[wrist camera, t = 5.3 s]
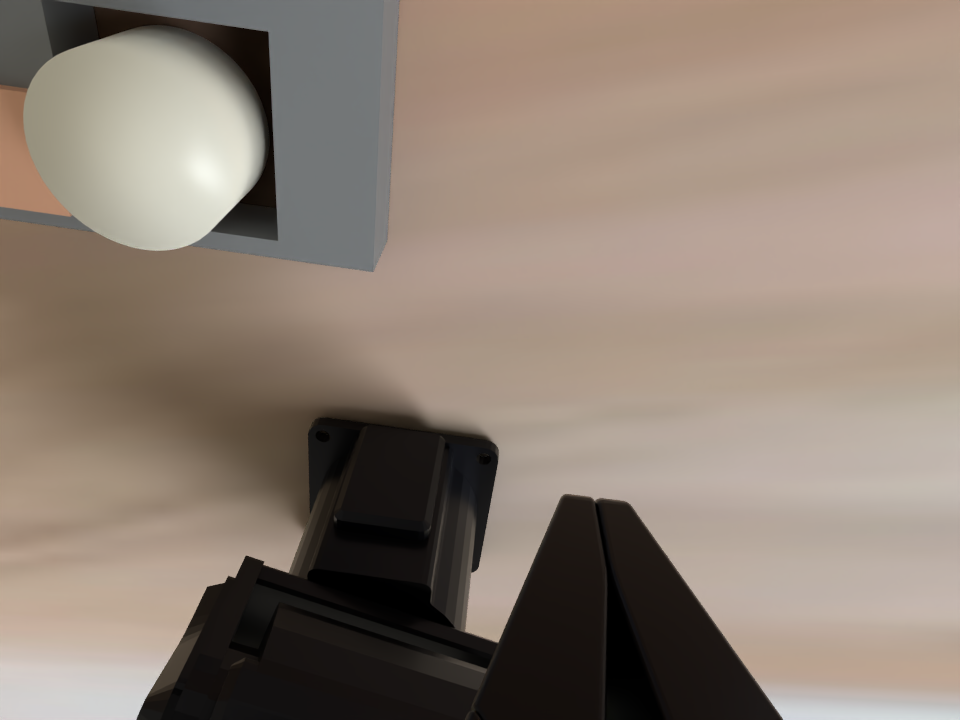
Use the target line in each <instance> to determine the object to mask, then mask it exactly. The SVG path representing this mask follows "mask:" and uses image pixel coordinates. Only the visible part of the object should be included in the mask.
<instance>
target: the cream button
mask: <svg viewBox="0 0 960 720" xmlns="http://www.w3.org/2000/svg"><path fill="white" fill-rule="evenodd" d="M23 123H24V133H25V138H26V143H27V146H28V149H29V152H30V156H31V158H32V160H33V162H34V165H35V167H36V169H37V171H38V173H39V174H40V176H41V178H42V180H43V181H44V183H45V184H46V186H47V187H48V189H49V190H50V191H51V193H52V194H53V195H54V196H55V198H56V199H57V200H58V201H59V202H60V203H61V204H62V205H63V206H64V207H65V208H66V209H67V210H68V211H69V212H70V213H71V214H72V215H73V216H74V217H75V218H77V219H78V220H79V221H80V222H82V223H83V224H84V225H86V226H87V227H89V228H90V229H92V230H93V231H95V232H97V233H98V234H100V235H102V236H104V237H106V238H108V239H110V240H112V241H115V242H117V243H119V244H123V245H126V246H129V247H133V248H138V249H142V250H152V251H164V250H173V249H178V248H182V247H185V246H188V245H190V244H192V243H194V242H196V241H198V240H200V239H201V238H203V237H204V236H205V235H207V234H208V233H209V232H210V231H211V230H212V229H213V228H214V227H215V226H216V225H217V224H218V223H219V222H220V221H221V220H222V219H223V218H224V217H225V216H226V215H227V214H228V212H229V211H230V210H231V209H232V208H233V207H234V206H235V205H236V204H237V203H238V202H239V201H240V200H241V199H242V198H243V197H244V196H245V195H246V194H247V193H248V192H249V191H250V190H251V189H252V188H253V187H254V186H255V184H256V183H257V182H258V180H259V179H260V177H261V175H262V173H263V171H264V169H265V165H266V162H267V159H268V153H269V128H268V122H267V118H266V113H265V110H264V108H263V105H262V102H261V99H260V97H259V95H258V93H257V91H256V89H255V88H254V86H253V84H252V83H251V81H250V80H249V78H248V77H247V75H246V74H245V73H244V72H243V70H242V69H241V68H240V67H239V65H238V64H237V63H236V62H235V61H234V60H233V59H232V58H231V57H230V56H229V55H228V54H226V53H225V52H224V51H223V50H221V49H220V48H219V47H218V46H216V45H215V44H213V43H212V42H210V41H209V40H207V39H205V38H203V37H201V36H199V35H197V34H195V33H193V32H190V31H187V30H184V29H182V28H177V27H172V26H166V25H147V26H141V27H137V28H133V29H130V30H127V31H124V32H121V33H118V34H115V35H112V36H109V37H106V38H103V39H100V40H96V41H93V42H90V43H87V44H84V45H81V46H78V47H75V48H72V49H69V50H67V51H65V52H62V53H60V54H58V55H56V56H55V57H53V58H52V59H50V60H49V61H47V62H46V63H45V64H44V65H43V66H42V67H41V68H40V69H39V70H38V72H37V73H36V75H35V76H34V78H33V79H32V81H31V83H30V86H29V88H28V90H27V94H26V98H25V102H24V111H23Z"/></svg>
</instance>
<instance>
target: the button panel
mask: <svg viewBox="0 0 960 720" xmlns="http://www.w3.org/2000/svg"><path fill="white" fill-rule="evenodd" d="M93 6H96V7H103V8H110V9H117V10H123V11H130V12H137V13H144V14H151V15H158V16H164V17H171V18H178V19H185V20H192V21H199V22H205V23H212V24H219V25H226V26H233V27H240V28H246V29H253V30H260V31H267V32H269V53H270V74H271V96H272V118H273V139H274V161H275V182H276V204H277V208H271V207H264V206H257V205H250V204H243V203H237V204H236V205H235V206H234V207H233V208H232V209H231V210H230V211H229V212H228V214H227V215H226V216H225V217H224V218H223V219H222V220H221V221H220V222H219V223H218V224H217V225H216V226H215V227H214V228H213V229H212V230H211V231H210V232H209V233H208V234H207V235H205V236H204V237H203V238H201V239H200V240H198V241H196V242H194V243H192V244H190V245H188V246H195V247H202V248H209V249H216V250H223V251H230V252H237V253H244V254H251V255H258V256H265V257H272V258H279V259H286V260H293V261H300V262H307V263H314V264H321V265H328V266H334V267H341V268H348V269H355V270H362V271H369V272H374V269H375V267H376V265H377V262H378V260H379V258H380V256H381V253H382V251H383V249H384V247H385V244H386V242H387V234H388V214H389V195H390V175H391V155H392V135H393V115H394V95H395V75H396V56H397V36H398V16H399V0H0V219H7V220H14V221H21V222H28V223H35V224H42V225H49V226H56V227H63V228H70V229H77V230H84V231H91V232H95V231H93V230H92V229H90V228H89V227H87V226H86V225H84V224H83V223H82V222H80V221H79V220H78V219H77V218H75V217H74V216H73V215H72V214H71V213H70V212H69V211H68V210H67V209H66V208H65V207H64V206H63V205H62V204H61V203H60V202H59V201H58V200H57V199H56V198H55V196H54V195H53V194H52V193H51V191H50V190H49V189H48V187H47V186H46V184H45V183H44V181H43V180H42V178H41V176H40V174H39V173H38V171H37V169H36V167H35V165H34V162H33V160H32V158H31V156H30V152H29V149H28V146H27V143H26V138H25V133H24V123H23V111H24V102H25V98H26V94H27V90H28V88H29V86H30V83H31V81H32V79H33V78H34V76H35V75H36V73H37V72H38V70H39V69H40V68H41V67H42V66H43V65H44V64H45V63H46V62H47V61H49V60H50V59H52V58H53V57H55V56H56V55H58V54H60V53H62V52H65V51H67V50H69V49H72V48H75V47H78V46H81V45H84V44H87V43H90V42H93V41H96V40H99V37H98V31H97V25H96V19H95V14H94V8H93Z"/></svg>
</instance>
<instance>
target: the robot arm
mask: <svg viewBox="0 0 960 720" xmlns="http://www.w3.org/2000/svg"><path fill="white" fill-rule="evenodd" d="M320 431H326V432H327V433H328V434H327V435H326V434H323V433H321V432H320ZM308 446H309V488H310V517H309V519H308V522H307V525H306V528H305V530H304V533H303V536H302V538H301V541H300V544H299V546H298V549H297V552H296V555H295V557H294V560H293V563H292V565H291V568H290V571H289V573H286V572H283V571H280V570H277V569H274V568H271V567H268V566H265V565H263V564H264V561H261V560H258V559H255V558H252V557H249V556H246V557H245V559H244V561H243V563H242V565H241V567H240V569H239V571H238V573H237V576H236V578H233V577H230V576H228V578H227V580H226V582H225V583H222V584H218V585H213V586H209V587H207V589H206V591H205V593H204V595H203V597H202V599H201V601H200V603H199V605H198V607H197V609H196V611H195V614H194V616H193V618H192V620H191V622H190V624H189V626H188V628H187V630H186V632H185V634H184V636H183V638H182V639H181V641H180V643H179V645H178V646H177V648H176V650H175V651H174V653H173V655H172V656H171V658H170V659H169V661H168V663H167V664H166V666H165V668H164V669H163V671H162V673H161V674H160V676H159V678H158V679H157V681H156V682H155V684H154V686H153V687H152V689H151V691H150V692H149V694H148V696H147V698H146V699H145V701H144V703H143V706H142V708H141V710H140V712H139V715H138V717H137V720H783V719H782V717H781V716H780V714H779V713H778V712H777V710H776V709H775V707H774V706H773V705H772V703H771V702H770V700H769V699H768V698H767V696H766V695H765V693H764V692H763V690H762V689H761V688H760V686H759V685H758V683H757V682H756V681H755V679H754V678H753V676H752V675H751V674H750V672H749V671H748V669H747V668H746V667H745V665H744V664H743V662H742V661H741V660H740V658H739V657H738V655H737V654H736V653H735V651H734V650H733V648H732V647H731V645H730V644H729V643H728V641H727V640H726V638H725V637H724V636H723V634H722V633H721V631H720V630H719V629H718V627H717V626H716V624H715V623H714V622H713V620H712V619H711V617H710V616H709V615H708V613H707V612H706V610H705V609H704V607H703V606H702V605H701V603H700V602H699V600H698V599H697V598H696V596H695V595H694V593H693V592H692V591H691V589H690V588H689V586H688V585H687V584H686V582H685V581H684V579H683V578H682V577H681V575H680V574H679V572H678V571H677V569H676V568H675V567H674V565H673V564H672V562H671V561H670V560H669V558H668V557H667V555H666V554H665V553H664V551H663V550H662V548H661V547H660V546H659V544H658V543H657V541H656V540H655V539H654V537H653V536H652V534H651V533H650V532H649V530H648V529H647V527H646V526H645V524H644V523H643V522H642V520H641V519H640V517H639V516H638V515H637V513H636V512H635V510H634V509H633V508H632V506H631V505H630V504H629V503H627V502H625V501H620V500H612V499H603V498H599V499H597V500H596V501H594V499H593V498H591V497H587V496H579V495H571V494H565V495H563V496H562V497H561V499H560V501H559V503H558V505H557V508H556V510H555V512H554V515H553V517H552V519H551V522H550V524H549V526H548V529H547V531H546V533H545V536H544V538H543V540H542V543H541V545H540V547H539V550H538V552H537V554H536V557H535V559H534V561H533V564H532V566H531V568H530V571H529V573H528V575H527V578H526V580H525V582H524V585H523V587H522V589H521V592H520V594H519V596H518V599H517V601H516V603H515V605H514V608H513V610H512V612H511V615H510V617H509V619H508V622H507V624H506V626H505V629H504V631H503V633H502V636H501V638H500V640H499V643H498V642H495V641H492V640H489V639H486V638H483V637H480V636H477V635H474V634H471V633H468V632H465V627H466V617H467V607H468V598H469V588H470V578H471V573H472V572H475V571H476V570H477V569H478V567H479V562H480V557H481V551H482V546H483V541H484V535H485V530H486V524H487V519H488V514H489V508H490V503H491V497H492V492H493V487H494V481H495V476H496V470H497V465H498V457H499V450H498V447H497V446H496V445H495V444H494V443H492V442H490V441H487V440H480V439H473V438H466V437H459V436H452V435H445V434H438V433H431V432H424V431H417V430H410V429H403V428H396V427H389V426H381V425H374V424H367V423H360V422H353V421H346V420H339V419H332V418H318V419H316V420H315V421H314V422H313V423H312V425H311V427H310V430H309V433H308ZM484 453H485V454H488V455H489V456H488V457H482V456H480V455H479V454H484Z"/></svg>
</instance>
